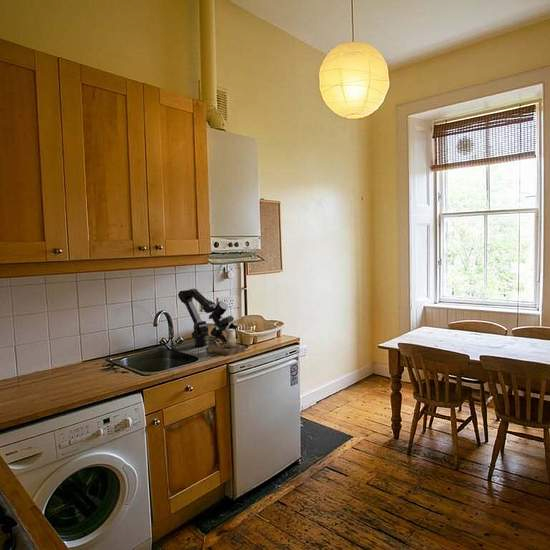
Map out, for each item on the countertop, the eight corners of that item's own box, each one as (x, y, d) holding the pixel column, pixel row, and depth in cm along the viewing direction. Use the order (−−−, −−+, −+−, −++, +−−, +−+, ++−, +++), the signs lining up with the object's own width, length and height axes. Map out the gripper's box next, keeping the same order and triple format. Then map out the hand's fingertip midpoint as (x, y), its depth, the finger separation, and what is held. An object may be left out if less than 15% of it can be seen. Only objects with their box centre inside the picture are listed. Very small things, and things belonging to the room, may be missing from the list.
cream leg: (225, 351, 239) (224, 329, 238) (232, 349, 242) (231, 328, 241) (230, 353, 235) (229, 331, 234) (237, 351, 238) (237, 329, 237)
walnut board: (228, 355, 230) (228, 350, 230) (214, 352, 239) (214, 347, 239) (245, 350, 240) (245, 346, 239) (231, 347, 248) (231, 342, 248)
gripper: (213, 313, 232) (227, 334, 226) (235, 309, 247) (249, 328, 241) (204, 325, 238) (218, 346, 232) (227, 320, 252) (240, 340, 246)
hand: (232, 340), depth 237 cm, fingers open, 9 cm apart
